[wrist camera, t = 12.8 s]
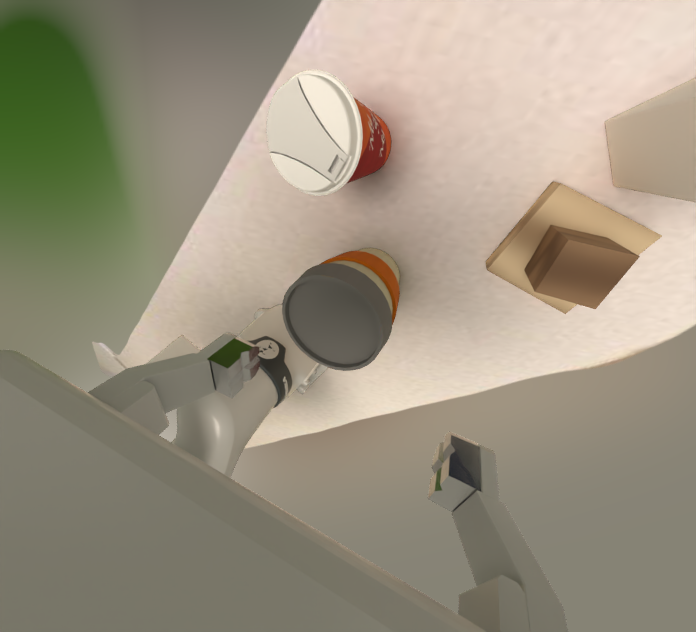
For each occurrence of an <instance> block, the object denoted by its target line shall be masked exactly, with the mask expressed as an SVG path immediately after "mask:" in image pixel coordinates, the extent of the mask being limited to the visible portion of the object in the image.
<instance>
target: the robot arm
mask: <svg viewBox="0 0 696 632" xmlns="http://www.w3.org/2000/svg"><path fill="white" fill-rule="evenodd" d="M327 368H328V367H326V366H324V365H321V364H319V363H317V362H316V361H314V360H312V359H311V358H309V357H308V356H307V355H306V354H305V353H303V352H302V351H301V350H300V349H299V348H298V347H297V345H296V344H295V343H294V341H293V340H292V339H291V337H290V335H289V333H288V331H287V330H286V327H285V324H284V321H283V315H282V304H281V305H277V306H274V307H273V308H270V309H259V310H257V311H256V312H255V320H254V321H253V322H252V323H251V324H250V325H249V326H248V327H247V328H246V329H244V330H243V331H242V332H241V333H240V334H239V335H238V337H237V336H235V335H233V334H231V333H226V334H224V335H222V336H221V337H219V338H218V339H217V340H215V341H214V342H212V343H211V344H210V345H208V346H207V347H205V348H204V349H203V350H201V351H200V352H198V353H197V354H195V353H190V354H186V355H182V356H178V357H174V358H170V359H165V360H161V361H157V362H153V363H149V364H144V365H140V366H136V367H132V368H128V369H125V370H124V371H122V372H120V373H119V374H117V375H115V376H114V377H112V378H110V379H109V380H107V381H106V382H104V383H102V384H101V385H99V386H97V387H96V388H94V389H93V390H91V391H89V392H88V393H87V392H85V391H84V390H82V389H80V388H79V387H77V386H75V385H74V384H72V383H70V382H69V381H67V380H65V379H64V378H62V377H60V376H59V375H57V374H55V373H53V372H52V371H50V370H49V369H47V368H45V367H43V366H42V365H40V364H38V363H37V362H35V361H33V360H32V359H30V358H29V357H27V356H25V355H24V354H22V353H20V352H17V351H14V350H0V632H568V628H567V624H566V619H565V614H564V609H563V606H562V604H561V602H560V600H559V599H558V597H557V595H556V593H555V592H554V590H553V588H552V586H551V585H550V583H549V581H548V580H547V578H546V576H545V574H544V572H543V570H542V569H541V567H540V565H539V563H538V562H537V560H536V558H535V556H534V555H533V553H532V551H531V549H530V548H529V546H528V544H527V543H526V541H525V539H524V537H523V535H522V534H521V532H520V530H519V528H518V527H517V525H516V523H515V521H514V520H513V518H512V516H511V514H510V513H509V511H508V509H507V507H506V505H505V504H504V503H502V502H500V500H499V489H498V479H497V467H496V457H495V453H494V451H493V450H491V449H488V448H486V447H484V446H482V445H479V444H477V443H476V442H473V441H471V440H468V439H466V438H464V437H462V436H459V435H457V434H455V433H452V432H450V431H449V432H448V433H447V434H446V435H445V438H444V442H442V443H440V444H439V445H438V447H437V448H436V451H435V454H434V457H433V462H432V469H433V471H434V476H433V477H432V478H431V479H430V486H429V494H428V499H429V500H431V501H432V502H434V503H436V504H438V505H440V506H442V507H443V508H445V509H447V510H449V511H451V512H453V513H452V516H453V519H454V522H455V525H456V527H457V530H458V533H459V536H460V539H461V542H462V545H463V548H464V551H465V554H466V557H467V559H468V562H469V565H470V568H471V571H472V574H473V577H474V580H475V583H476V587H474V588H472V589H469V590H467V591H465V592H463V593H461V594H460V595H459V610H458V614H457V613H455V612H454V611H452V610H450V609H448V608H447V607H445V606H444V605H442V604H440V603H439V602H436V601H435V600H433V599H432V598H430V597H429V596H427V595H425V594H424V593H422V592H420V591H418V590H417V589H415V588H413V587H412V586H410V585H408V584H407V583H405V582H403V581H402V580H400V579H398V578H397V577H395V576H393V575H392V574H390V573H388V572H387V571H385V570H383V569H382V568H380V567H378V566H377V565H375V564H373V563H372V562H370V561H368V560H367V559H365V558H363V557H362V556H360V555H358V554H357V553H355V552H353V551H352V550H350V549H348V548H347V547H345V546H343V545H341V544H340V543H338V542H336V541H335V540H333V539H331V538H330V537H328V536H326V535H325V534H323V533H321V532H320V531H318V530H316V529H315V528H313V527H311V526H310V525H308V524H306V523H305V522H303V521H301V520H300V519H298V518H296V517H295V516H293V515H291V514H290V513H288V512H286V511H285V510H283V509H281V508H280V507H278V506H276V505H274V504H273V503H271V502H269V501H268V500H266V499H264V498H263V497H261V496H260V495H258V494H256V493H255V492H253V491H251V490H249V489H248V488H246V487H244V486H243V485H241V484H239V483H238V482H236V481H234V480H233V479H231V475H232V473H233V470H234V468H235V466H236V463H237V461H238V459H239V457H240V455H241V453H242V451H243V449H244V448H245V446H246V444H247V443H248V441H249V440H250V438H251V437H252V435H253V434H254V433H255V431H256V430H257V428H258V427H259V426H260V424H261V423H262V422H263V420H264V419H265V418H266V416H267V415H268V414H269V412H270V411H271V410H272V408H275V407H276V406H278V405H279V404H280V403H281V402H282V401H283V400H284V399H285V398H287V397H289V396H290V395H291V394H292V393H293V392H294V391H295V390H297V391H298V392H300V393H301V394H303V393H304V392H305V391H306V389H307V388H308V387H309V386H310V385H311V384H312V383H313V382H314V381H315V380H316V379H317V378H318V377H319V376H320V375H321V374H322V373H323V372H324V371H325V370H326V369H327ZM174 409H177V435H176V438H175V442H174V444H173V443H171V442H169V441H167V440H166V439H164V438H162V437H161V436H159V434H160V433H161V432H163V431H164V430H165V429H166V428H167V427H168V426H169V421H168V419H167V416H166V414H165V413H167V412H170V411H172V410H174Z"/></svg>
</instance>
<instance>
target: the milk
mask: <svg viewBox="0 0 696 632" xmlns="http://www.w3.org/2000/svg"><path fill="white" fill-rule="evenodd" d="M605 127H606V135H607V142H608V149H609V156H610V164H611V171H612V178H613V185H614V186H616V187H621V188H626V189H631V190H636V191H641V192H646V193H651V194H656V195H661V196H667V197H672V198H677V199H682V200H687V201H692V202H696V78H694V79H692V80H690V81H688V82H686V83H684V84H682V85H679V86H677V87H675V88H673V89H671V90H669V91H667V92H665V93H663V94H661V95H659V96H656V97H654V98H652V99H650V100H648V101H646V102H644V103H642V104H640V105H638V106H636V107H634V108H631V109H629V110H627V111H625V112H623V113H621V114H619V115H617V116H615V117H613V118H611V119H609V120H607V121H605Z"/></svg>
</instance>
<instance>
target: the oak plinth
mask: <svg viewBox="0 0 696 632" xmlns="http://www.w3.org/2000/svg"><path fill="white" fill-rule="evenodd" d="M550 225H554V226H558V227H563V228H567V229H572V230H576V231H580V232H585V233H589V234H594V235H598V236H603V237H607V238H609V239H611V240H612V241H614V242H616V243H618V244H619V245H621V246H623V247H624V248H626V249H628V250H630V251H631V252H633V253H635V254H637V255H639V254H640V253H642V252H643V251H644V250H645V249H647V248H648V247H649V246H650V245H652V244H653V243H654V242H655V241H657V240H658V239H659V238H660V237H662V236H661V235H659V234H658V233H656V232H654V231H652V230H650V229H648V228H646V227H644V226H642V225H640V224H638V223H636V222H634V221H632V220H630V219H629V218H627V217H625V216H623V215H621V214H619V213H617V212H615V211H613V210H611V209H609V208H607V207H605V206H603V205H601V204H599V203H598V202H596V201H594V200H592V199H590V198H588V197H586V196H584V195H582V194H580V193H578V192H576V191H574V190H572V189H570V188H568V187H567V186H565V185H563V184H561V183H557V182H554V181H553V182H552V183H551V184H550V185H549V186H548V188H547V189H546V190H545V191H544V192H543V194H542V195H541V196H540V197H539V198H538V200H537V201H536V202H535V203H534V204H533V206H532V207H531V208H530V209H529V210H528V212H527V213H526V214H525V215H524V216H523V218H522V219H521V220H520V221H519V222H518V224H517V225H516V226H515V227H514V228H513V230H512V231H511V232H510V233H509V234H508V236H507V237H506V238H505V239H504V240H503V242H502V243H501V244H500V245H499V246H498V248H497V249H496V250H495V251H494V252H493V254H492V255H491V256H490V257H489V258H488V260H487V261H486V267H487V270H488V271H490V272H491V273H493V274H495V275H497V276H499V277H500V278H502V279H504V280H506V281H508V282H509V283H511V284H513V285H515V286H516V287H518V288H520V289H522V290H524V291H525V292H527V293H529V294H531V295H532V296H534V297H536V298H538V299H540V300H541V301H543V302H545V303H547V304H548V305H550V306H552V307H554V308H556V309H557V310H559V311H561V312H563V313H565V314H566V313H567V312H568V311H570V310H571V309H572V308H573V307H574V306H576V305H577V304H575V303H572V302H568V301H565V300H561V299H558V298H554V297H551V296H547V295H544V294H540V293H537V292H534V289H533V287H532V285H531V283H530V281H529V279H528V277H527V275H526V273H525V271H524V269H525V267H526V266H527V264H528V262H529V261H530V259H531V257H532V255H533V254H534V252H535V250H536V249H537V247H538V245H539V244H540V242H541V240H542V238H543V237H544V235H545V233H546V232H547V230H548V228H549V227H550Z"/></svg>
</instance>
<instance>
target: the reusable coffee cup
mask: <svg viewBox="0 0 696 632" xmlns="http://www.w3.org/2000/svg"><path fill="white" fill-rule="evenodd" d="M399 282H400V273H399V270H398V267H397V265H396V263H395V261H394V260H393V259H392V258H391V257H390V256H389V255H388V254H387V253H385V252H383V251H381V250H378V249H375V248H364V249H361V250H358V251H350V252H346V253H343V254H340V255H338V256H336V257H333V258H331V259H328V260H326V261H324V262H323V263H321V264H319V265H317V266H314V267H312V268H310V269H309V270H307V271H306V272H305V273H304V274H303V275H302V276H301V277H300V278H299V279H298V280H297V281H296V282H295V283H294V284H293V285H292V286H291V287H290V288H289V289H288V290H287V292H286V294H285V296H284V300H283V303H282V315H283V321H284V324H285V327H286V330H287V331H288V333H289V335H290V337H291V339H292V340H293V341H294V343H295V344H296V345H297V347H298V348H299V349H300V350H301V351H302V352H303V353H305V354H306V355H307V356H308V357H309V358H311V359H312V360H314V361H316V362H317V363H319V364H321V365H324V366H326V367H329V368H332V369H336V370H343V371H346V370H356V369H360V368H362V367H365V366H367V365H368V364H370V363H371V362H372V361H373V360H374V359H375V358H376V356H377V355H378V354H379V352H380V351H381V349H382V348H383V346H384V345H385V343H386V342H387V340H388V339H389V336H390V333H391V329H392V325H393V322H394V319H395V316H396V311H397V306H398V301H399V294H400V293H399Z"/></svg>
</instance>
